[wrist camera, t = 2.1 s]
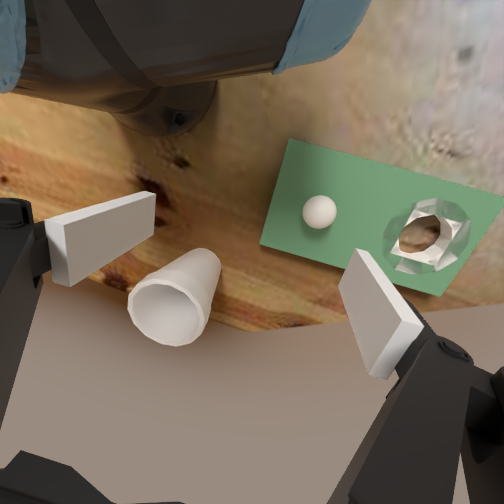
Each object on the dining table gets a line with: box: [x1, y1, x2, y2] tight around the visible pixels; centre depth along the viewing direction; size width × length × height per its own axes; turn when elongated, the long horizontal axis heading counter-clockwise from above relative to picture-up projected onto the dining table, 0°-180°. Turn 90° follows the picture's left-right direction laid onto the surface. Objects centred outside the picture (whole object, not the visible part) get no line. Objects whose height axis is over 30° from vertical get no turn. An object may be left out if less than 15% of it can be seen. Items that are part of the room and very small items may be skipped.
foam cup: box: [128, 248, 221, 346], centre depth 34 cm, size 10×9×13 cm
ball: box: [302, 195, 337, 229], centre depth 29 cm, size 4×4×4 cm
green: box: [259, 138, 504, 297], centre depth 32 cm, size 26×14×2 cm, turn 76°
